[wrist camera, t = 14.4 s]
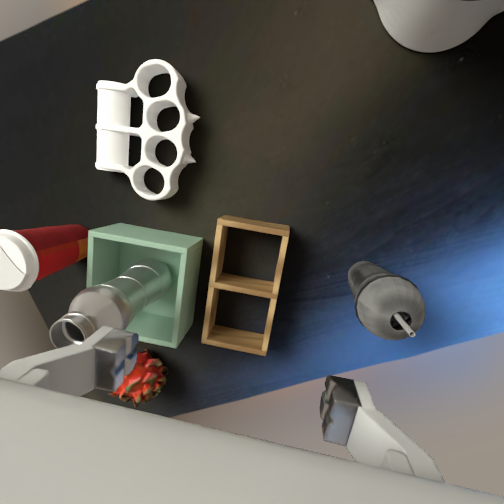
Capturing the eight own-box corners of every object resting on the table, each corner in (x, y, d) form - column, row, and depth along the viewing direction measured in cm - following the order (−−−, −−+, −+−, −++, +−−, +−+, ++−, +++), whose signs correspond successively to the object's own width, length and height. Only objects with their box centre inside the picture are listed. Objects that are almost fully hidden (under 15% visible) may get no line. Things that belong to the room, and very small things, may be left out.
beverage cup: (357, 307, 47) (409, 396, 27) (328, 272, 46) (359, 337, 26) (398, 279, 45) (484, 352, 26) (368, 241, 44) (433, 287, 25)
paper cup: (48, 226, 49) (-43, 242, 36) (88, 211, 48) (11, 222, 34) (68, 270, 51) (-11, 302, 37) (108, 257, 49) (41, 285, 36)
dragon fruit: (183, 366, 54) (125, 352, 57) (169, 345, 48) (104, 331, 50) (163, 418, 49) (99, 400, 51) (144, 402, 42) (72, 383, 45)
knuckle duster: (106, 61, 43) (208, 72, 42) (103, 191, 47) (196, 204, 46) (91, 51, 39) (201, 63, 38) (90, 191, 44) (189, 206, 42)
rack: (224, 214, 46) (217, 218, 41) (289, 226, 45) (289, 231, 40) (209, 327, 50) (200, 343, 45) (267, 339, 49) (265, 356, 44)
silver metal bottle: (174, 297, 49) (100, 373, 29) (134, 290, 49) (35, 360, 30) (178, 259, 47) (102, 312, 28) (136, 252, 48) (33, 299, 28)
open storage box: (119, 222, 48) (88, 230, 40) (203, 238, 47) (187, 248, 39) (114, 308, 51) (84, 329, 44) (192, 323, 50) (176, 348, 43)
